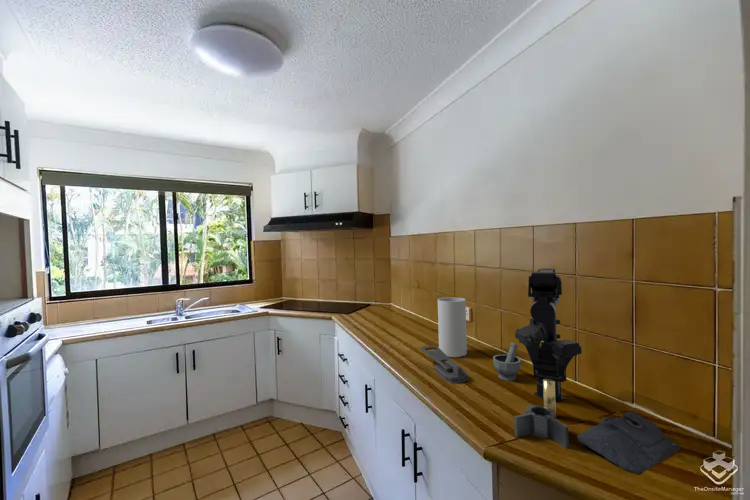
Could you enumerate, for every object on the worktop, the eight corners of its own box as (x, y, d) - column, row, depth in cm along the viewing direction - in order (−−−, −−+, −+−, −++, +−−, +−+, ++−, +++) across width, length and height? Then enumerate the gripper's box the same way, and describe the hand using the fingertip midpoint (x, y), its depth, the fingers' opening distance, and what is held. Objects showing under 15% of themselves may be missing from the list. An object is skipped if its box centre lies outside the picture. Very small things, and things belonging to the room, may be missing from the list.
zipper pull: (436, 344, 141) (471, 362, 117) (437, 359, 141) (471, 380, 117) (418, 346, 138) (449, 366, 114) (418, 362, 138) (450, 384, 114)
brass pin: (549, 412, 93) (548, 378, 93) (558, 417, 91) (557, 382, 91) (541, 414, 93) (540, 379, 93) (550, 419, 90) (548, 383, 90)
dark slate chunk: (565, 442, 80) (564, 423, 80) (613, 419, 90) (613, 402, 90) (638, 481, 66) (637, 457, 66) (685, 448, 76) (685, 428, 76)
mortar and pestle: (510, 384, 113) (509, 350, 113) (487, 376, 121) (487, 344, 121) (528, 377, 119) (528, 344, 119) (506, 369, 127) (505, 339, 127)
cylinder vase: (450, 347, 157) (448, 296, 157) (472, 353, 147) (470, 299, 147) (433, 353, 149) (431, 299, 149) (455, 360, 139) (454, 302, 139)
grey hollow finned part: (541, 421, 89) (540, 403, 89) (578, 445, 78) (577, 424, 78) (506, 429, 85) (506, 410, 85) (540, 455, 74) (539, 433, 74)
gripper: (499, 312, 98) (501, 362, 99) (547, 325, 80) (549, 387, 81) (530, 309, 101) (531, 358, 101) (582, 321, 83) (584, 381, 83)
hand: (546, 370), depth 92 cm, fingers open, 9 cm apart
